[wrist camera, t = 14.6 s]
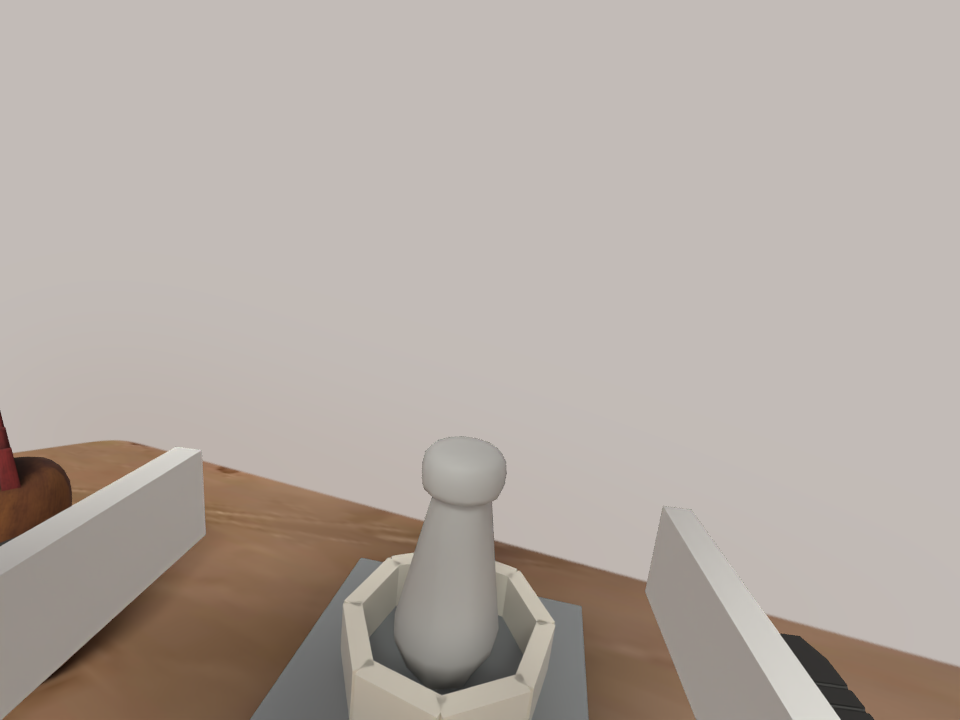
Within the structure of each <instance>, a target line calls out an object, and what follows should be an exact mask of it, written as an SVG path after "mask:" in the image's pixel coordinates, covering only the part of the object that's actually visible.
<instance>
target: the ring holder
mask: <svg viewBox="0 0 960 720" xmlns="http://www.w3.org/2000/svg"><path fill="white" fill-rule="evenodd" d="M413 555H414V553H408V554H402V555H395V556H391V558H387V559H386V560H385V561H384V562H383V563H382V564H381V565H380V566H379V567H378V568H377V569H376V570H375V571H374V572H373V573H372V574H371V575H370V576H369V577H368V578H367V579H366V580H365V581H364V582H363V583H362V584H361V585H360V586H359V587H358V588H357V589H356V590H355V591H354V592H352V593H351V594H350V595H349V596H348V597H347V598H346V599H345V600H344V604H343V613H342V631H341V657H342V665H343V673H344V681H345V690H346V698H347V706H348V714H349V720H532V717H533V713H534V710H535V707H536V704H537V701H538V698H539V695H540V692H541V689H542V686H543V682H544V679H545V676H546V673H547V670H548V665H549V659H550V653H551V648H552V642H553V636H554V631H555V625H554V624H555V621H554V620H553V618H552V617H551V616H550V614H549V613H548V611H547V610H546V608H545V607H544V605H543V604H542V602H541V601H540V599H539V598H538V597H537V595H536V594H535V592H534V591H533V589H532V588H531V586H530V585H529V583H528V582H527V580H526V579H525V578H524V576H523V575H522V573H521V572H520V571H517V569H516V568H513V567H511V566H508V565H505V564H502V563H500V562H497V561H495V570H496V589H497V607H498V615H499V616H502V617H503V619H504V621H505V623H506V624H507V626H508V628H509V630H510V632H511V633H512V635H513V637H514V639H515V641H516V642H517V644H518V646H519V648H520V650H521V651H522V653H523V657H522V660H521V662H520V665H519V667H518V670H517V672H516V675H512V676H509V677H505V678H502V679H498V680H495V681H491V682H488V683H484V684H480V685H477V686H473V687H470V688H466V689H463V690H459V691H456V692H452V693H449V694H445V695H440V694H438V693H436V692H434V691H432V690H430V689H428V688H426V687H424V686H422V685H420V684H419V683H417V682H415V681H413V680H411V679H409V678H407V677H405V676H403V675H401V674H399V673H397V672H395V671H393V670H391V669H389V668H387V667H385V666H383V665H381V664H379V663H377V662H375V661H373V657H372V652H371V646H370V641H369V637H370V636H371V635H372V634H373V632H374V631H375V630H376V629H377V628H378V626H379V625H380V624H381V623H382V622H383V621H384V619H385V618H386V617H387V616H388V615H389V613H390V612H391V611H392V610H393V609H394V608H395V606H397V605H398V602H399V599H400V596H401V593H402V589H403V586H404V583H405V580H406V577H407V574H408V571H409V567H410V564H411V561H412V558H413Z"/></svg>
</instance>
